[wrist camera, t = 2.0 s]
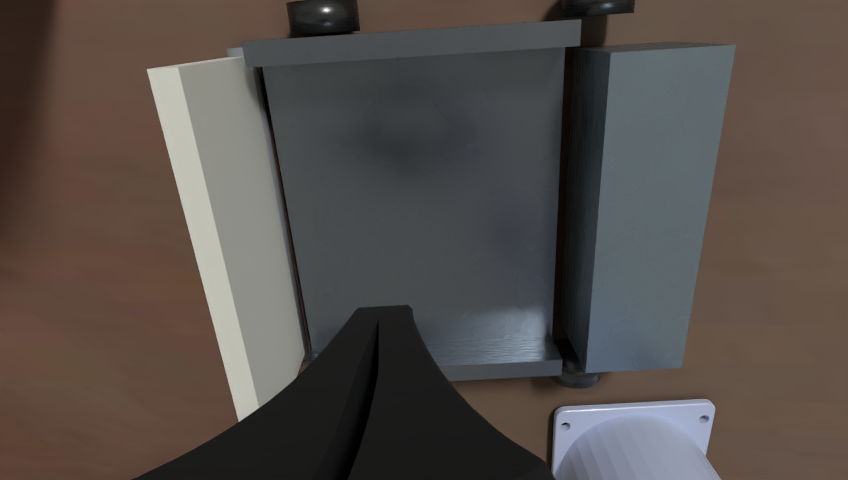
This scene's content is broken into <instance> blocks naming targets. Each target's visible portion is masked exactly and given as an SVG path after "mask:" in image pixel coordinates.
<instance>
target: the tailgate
mask: <svg viewBox="0 0 848 480" xmlns="http://www.w3.org/2000/svg"><path fill="white" fill-rule="evenodd" d="M226 52H227V57H228V58H221V59H214V60H207V61H200V62H193V63H187V64H180V65H173V66H166V67H159V68H152V69H147V72H148V76H149V80H150V84H151V87H152V91H153V95H154V99H155V103H156V106H157V110H158V114H159V118H160V122H161V126H162V129H163V133H164V137H165V141H166V145H167V149H168V152H169V156H170V160H171V164H172V168H173V172H174V175H175V179H176V183H177V187H178V191H179V194H180V198H181V202H182V206H183V210H184V214H185V217H186V221H187V225H188V229H189V233H190V237H191V240H192V244H193V248H194V252H195V256H196V259H197V263H198V267H199V271H200V275H201V279H202V282H203V286H204V290H205V294H206V298H207V302H208V305H209V309H210V313H211V317H212V321H213V325H214V328H215V332H216V336H217V340H218V344H219V347H220V351H221V355H222V359H223V363H224V367H225V370H226V374H227V378H228V382H229V386H230V390H231V393H232V397H233V401H234V405H235V409H236V412H237V416H238V420H239V422H240V421H241V420H243V419H244V418H245V417H247V416H248V415H250V414H251V413H253V412H254V411H255V410H257V409H258V408H260V407H261V406H263V405H264V404H265V403H267V402H268V401H269V400H271V399H272V398H273V397H274V396H275V395H277V394H278V393H279V392H280V391H282V390H283V389H284V388H285V387H286V386H288V385H289V384H290V383H291V382H292V381H293V380H294V379H295V378H296V377H297V375H298V372H299V369H300V366H301V363H302V361H304V360H305V359H307V358H308V357H309V348H308V343H307V337H306V332H305V326H304V320H303V315H302V309H301V304H300V298H299V293H298V287H297V281H296V276H295V270H294V265H293V259H292V254H291V248H290V242H289V237H288V231H287V226H286V220H285V214H284V209H283V203H282V198H281V192H280V187H279V181H278V175H277V170H276V164H275V159H274V153H273V148H272V142H271V136H270V131H269V125H268V120H267V114H266V109H265V103H264V97H263V92H262V86H261V81H260V75H259V69H258V67H249V68H246V65H245V60H244V54H243V49H242V47H240V48H227V49H226Z"/></svg>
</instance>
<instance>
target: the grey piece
mask: <svg viewBox="0 0 848 480" xmlns="http://www.w3.org/2000/svg"><path fill="white" fill-rule="evenodd" d="M286 5H287V11H288V18H289V24H290V31H291V35H305V34H321V33H336V32H350V31H360V25H359V15H358V5H357V0H305V1H295V2H289V3H286ZM634 6H635V0H562V9H561V18H562V17H579V16H594V15H609V14H623V13H634ZM581 21H582V19H578V20H562V21H547V22H532V23H517V24H502V25H486V26H471V27H456V28H441V29H426V30H410V31H395V32H380V33H365V34H350V35H334V36H319V37H304V38H289V39H274V40H259V41H244V42H241V44H242V49H243V54H244V60H245V65H246V68H249V67H262V68H263V74H264V79H265V85H266V91H267V96H268V102H269V108H270V113H271V119H272V125H273V131H274V136H275V142H276V148H277V153H278V159H279V165H280V170H281V176H282V182H283V187H284V193H285V199H286V204H287V210H288V216H289V221H290V227H291V233H292V238H293V244H294V250H295V255H296V261H297V267H298V272H299V278H300V284H301V289H302V295H303V301H304V306H305V312H306V318H307V324H308V329H309V335H310V341H311V346H312V351H311V354H310V357H309V360H308V363H307V366H308V365H309V364H310V363H311V362H312V361H313V360H314V359H315V358H316V357H317V356H318V355H319V354H320V353H321V352H322V350H323V349H324V348H325V347H326V346H327V345H328V343H329V342H330V341H331V340H332V339H333V338H334V336H335V335H336V334H337V333H338V332H339V330H340V329H341V328H342V327H343V325H344V324H345V323H346V322H347V320H348V319H349V318H350V316H351V315H352V314H353V313H354V311H355V310H356V309H357V308H359V307H377V306H395V305H409V306H410V307H411V308H412V309H413V317H414V321H415V324H416V326H417V329H418V331H419V333H420V336H421V338H422V340H423V342H424V343H425V345H426V347H427V349H428V351H429V353H430V354H431V356H432V358H433V359H434V361H435V362H436V364H437V365H438V367H439V368H440V370H441V371H442V373H443V374H444V375H445V377H446V378H447V379H448V381H465V380H484V379H502V378H520V377H538V376H549V377H550V378H551V379H552V380H553V381H555V382H556V383H558V384H560V385H562V386H565V387H569V388H587V387H590V386H593V385H594V384H596V383H597V382H598V381H599V379H600V372H615V371H633V370H651V369H669V368H682V362H683V356H684V350H685V344H686V338H687V332H688V326H689V320H690V314H691V308H692V302H693V296H694V291H695V285H696V279H697V273H698V267H699V261H700V255H701V249H702V243H703V237H704V231H705V225H706V220H707V214H708V208H709V202H710V196H711V190H712V184H713V178H714V172H715V166H716V160H717V154H718V148H719V143H720V137H721V131H722V125H723V119H724V113H725V107H726V101H727V95H728V89H729V83H730V77H731V72H732V66H733V60H734V54H735V48H736V45H731V44H710V43H688V42H664V43H649V44H633V45H618V46H602V47H587V48H574V53H573V72H572V92H571V111H570V130H569V149H568V169H567V188H566V207H565V227H564V246H563V265H562V285H561V304H560V321H561V323H562V325H563V327H564V329H565V332H566V334H567V336H568V338H569V339H561V340H558V341H555V342H554V339H553V337H552V324H553V302H554V281H555V259H556V237H557V215H558V193H559V171H560V149H561V127H562V105H563V83H564V61H565V47H572V46H580V38H581ZM307 366H306V367H307Z"/></svg>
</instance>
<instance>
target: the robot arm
mask: <svg viewBox="0 0 848 480" xmlns="http://www.w3.org/2000/svg"><path fill="white" fill-rule="evenodd" d="M714 414H715V407H714V405H713V404H712V403H711V401H709V400H708V399H693V400H675V401H656V402H638V403H619V404H601V405H582V406H564V407H560V408H558V409H557V410H556V411H555V414H554V428H553V448H552V468H551V470H550V469H549V467H548V465H547V464H546V462H545V461H543V460H542V459H540V458H539V457H537V456H536V455H534V454H532V453H531V452H529V451H528V450H526V449H524V448H523V447H521V446H520V445H518V444H516V443H515V442H513V441H512V440H510V439H509V438H507V437H506V436H504V435H503V434H502V433H501V432H499V431H498V430H497V429H495V428H494V427H493V426H492V425H491V424H490V423H489V422H488V421H487V420H485V419H484V418H483V417H482V416H481V415H480V414H479V413H478V412H477V411H476V410H474V409H473V408H472V407H471V406H470V405H469V404H468V403H467V401H466V400H465V399H464V398H463V397H462V396H461V395H460V394H459V393H458V392H457V390H456V389H455V388H454V387H453V386H452V384H451V383H450V382H449V381H448V379H447V378H446V377H445V375H444V374H443V373H442V371H441V370H440V368H439V367H438V365H437V364H436V362H435V361H434V359H433V358H432V356H431V354H430V353H429V351H428V349H427V347H426V345H425V343H424V342H423V340H422V338H421V336H420V333H419V331H418V329H417V326H416V324H415V321H414V317H413V309H412V308H411V307H410V306H409V305H395V306H377V307H359V308H357V309H356V310H355V311H354V313H353V314H352V315H351V316H350V318H349V319H348V320H347V322H346V323H345V324H344V325H343V327H342V328H341V329H340V330H339V332H338V333H337V334H336V335H335V336H334V338H333V339H332V340H331V341H330V342H329V343H328V345H327V346H326V347H325V348H324V349H323V350H322V352H321V353H320V354H319V355H318V356H317V357H316V358H315V359H314V360H313V361H312V362H311V363H310V364H309V365H308V366H307V367H306V368H305V369H304V370H303V371H302V372H301V374H300V375H299V376H298V377H296V378H295V379H294V380H293V381H292V382H291V383H290V384H289V385H288V386H286V387H285V388H284V389H283V390H282V391H280V392H279V393H278V394H277V395H275V396H274V397H273V398H272V399H271V400H269V401H268V402H267V403H265V404H264V405H263V406H261V407H260V408H258V409H257V410H255V411H254V412H253V413H251V414H250V415H248V416H247V417H245V418H244V419H243V420H241V421H240V422H238V423H237V424H235V425H234V426H232V427H231V428H229V429H228V430H226V431H224V432H223V433H221V434H219V435H218V436H216V437H215V438H213V439H211V440H209V441H208V442H206V443H204V444H202V445H201V446H199V447H197V448H195V449H193V450H192V451H190V452H188V453H186V454H184V455H182V456H180V457H178V458H176V459H174V460H172V461H170V462H168V463H166V464H164V465H162V466H160V467H158V468H156V469H153V470H151V471H149V472H147V473H145V474H143V475H141V476H139V477H137V478H134V479H132V480H721V479H720V477H719V476H718V474H717V473H716V472H715V470H714V469H713V467H712V466H711V464H710V463H709V461H708V460H707V458H706V452H707V447H708V442H709V437H710V433H711V428H712V423H713V418H714ZM701 416H703V417H701ZM700 417H701V418H700ZM563 423H567V424H566V425H562V424H563Z"/></svg>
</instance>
